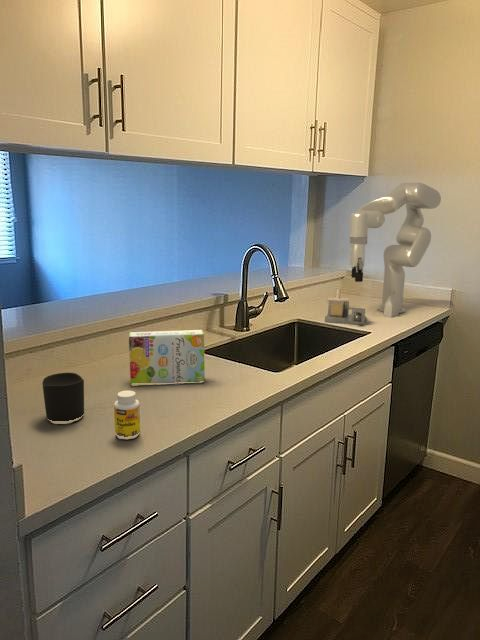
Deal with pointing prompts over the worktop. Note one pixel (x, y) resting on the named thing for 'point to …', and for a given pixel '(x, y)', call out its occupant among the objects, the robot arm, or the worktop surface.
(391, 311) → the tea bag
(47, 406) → the pen holder
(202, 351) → the snack box
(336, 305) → the block
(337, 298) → the pipe connector
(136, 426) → the supplement bottle
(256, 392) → the worktop surface
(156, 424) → the worktop surface
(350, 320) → the bracket
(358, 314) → the lock pin
